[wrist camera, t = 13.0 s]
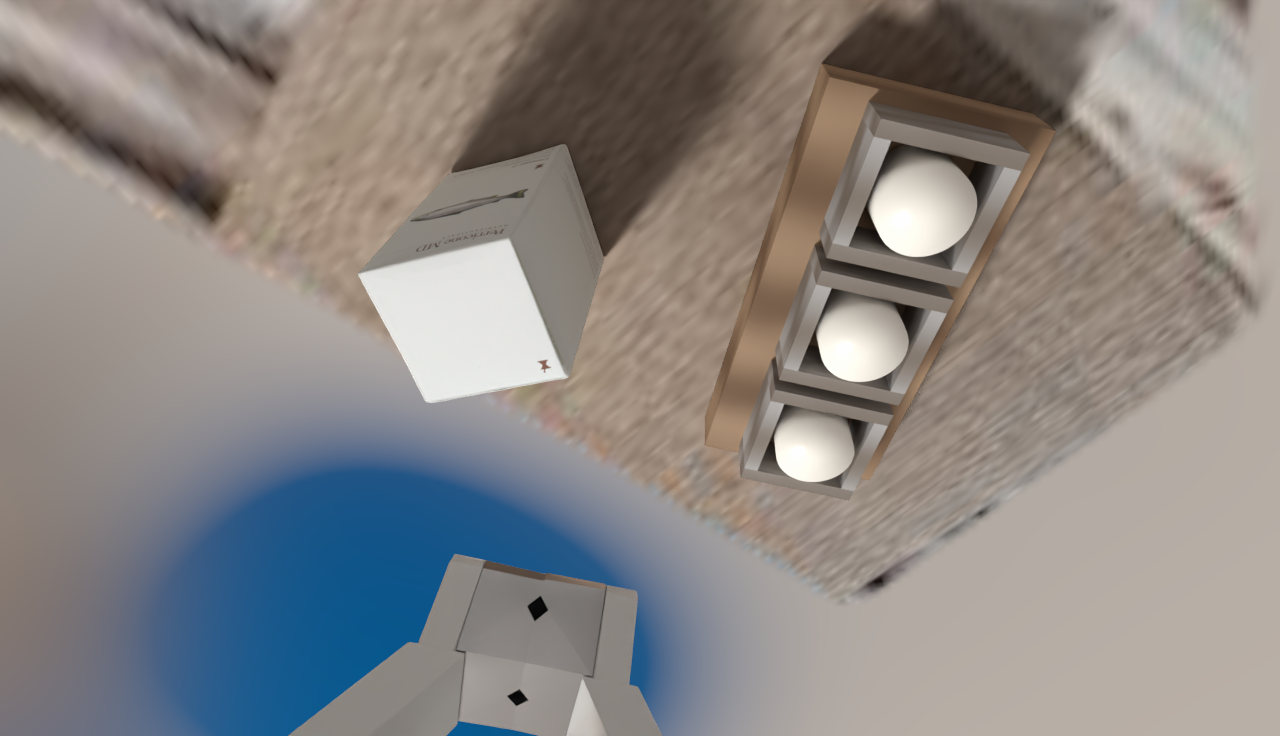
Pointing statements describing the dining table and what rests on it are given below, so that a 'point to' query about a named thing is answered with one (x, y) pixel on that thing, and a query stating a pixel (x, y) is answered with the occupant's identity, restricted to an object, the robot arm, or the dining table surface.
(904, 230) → the knob near
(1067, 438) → the dining table surface
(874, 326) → the knob middle
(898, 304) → the knob mount
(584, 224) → the supplement box
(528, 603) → the robot arm
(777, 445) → the knob far
